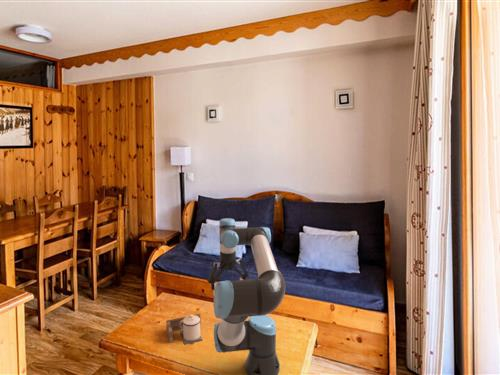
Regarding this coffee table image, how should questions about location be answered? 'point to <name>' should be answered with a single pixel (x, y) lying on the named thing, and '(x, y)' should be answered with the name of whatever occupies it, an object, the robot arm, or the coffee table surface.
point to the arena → (175, 325)
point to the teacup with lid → (191, 327)
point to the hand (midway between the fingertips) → (228, 293)
